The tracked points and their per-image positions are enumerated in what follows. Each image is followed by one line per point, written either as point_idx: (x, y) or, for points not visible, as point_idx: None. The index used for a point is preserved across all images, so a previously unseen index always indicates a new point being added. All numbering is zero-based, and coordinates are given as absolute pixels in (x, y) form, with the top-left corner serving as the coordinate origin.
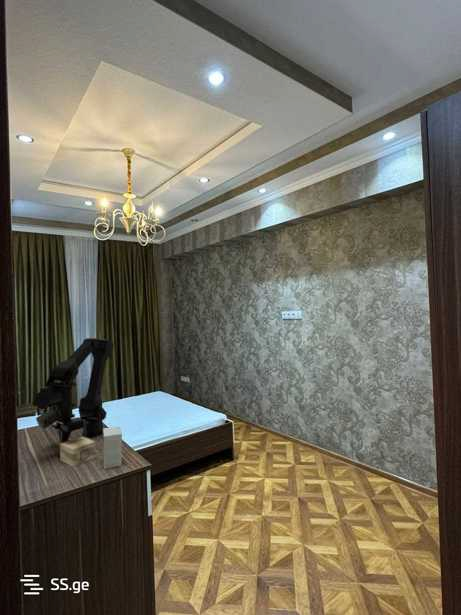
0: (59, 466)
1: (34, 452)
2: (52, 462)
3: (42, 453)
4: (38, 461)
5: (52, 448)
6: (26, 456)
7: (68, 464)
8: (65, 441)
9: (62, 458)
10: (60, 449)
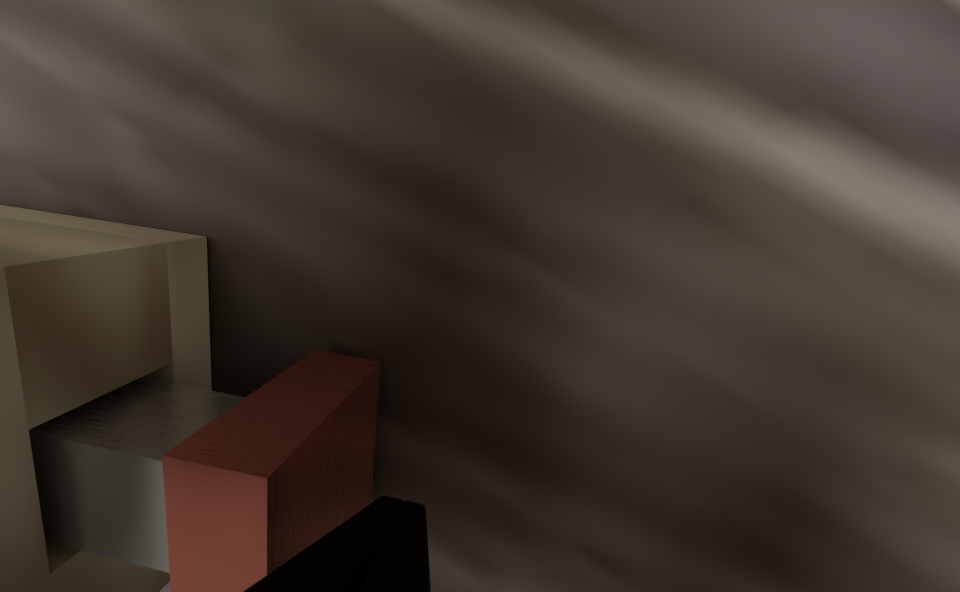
0: (31, 105)
1: (933, 231)
2: (230, 134)
3: (720, 272)
4: (459, 30)
5: (744, 474)
6: (921, 29)
7: (2, 205)
8: (184, 546)
9: (102, 230)
10: (15, 262)
